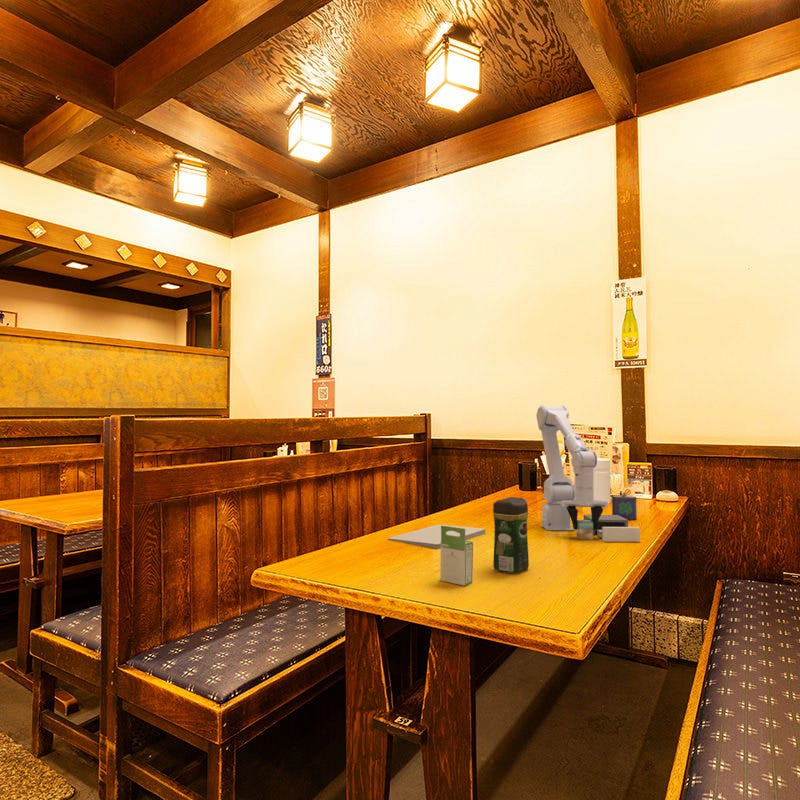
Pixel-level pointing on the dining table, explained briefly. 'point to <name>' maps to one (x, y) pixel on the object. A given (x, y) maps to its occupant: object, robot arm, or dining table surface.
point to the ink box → (456, 557)
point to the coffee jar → (510, 535)
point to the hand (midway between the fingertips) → (584, 529)
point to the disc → (584, 524)
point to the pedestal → (585, 534)
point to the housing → (608, 521)
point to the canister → (601, 480)
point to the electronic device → (434, 536)
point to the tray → (619, 534)
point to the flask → (624, 506)
